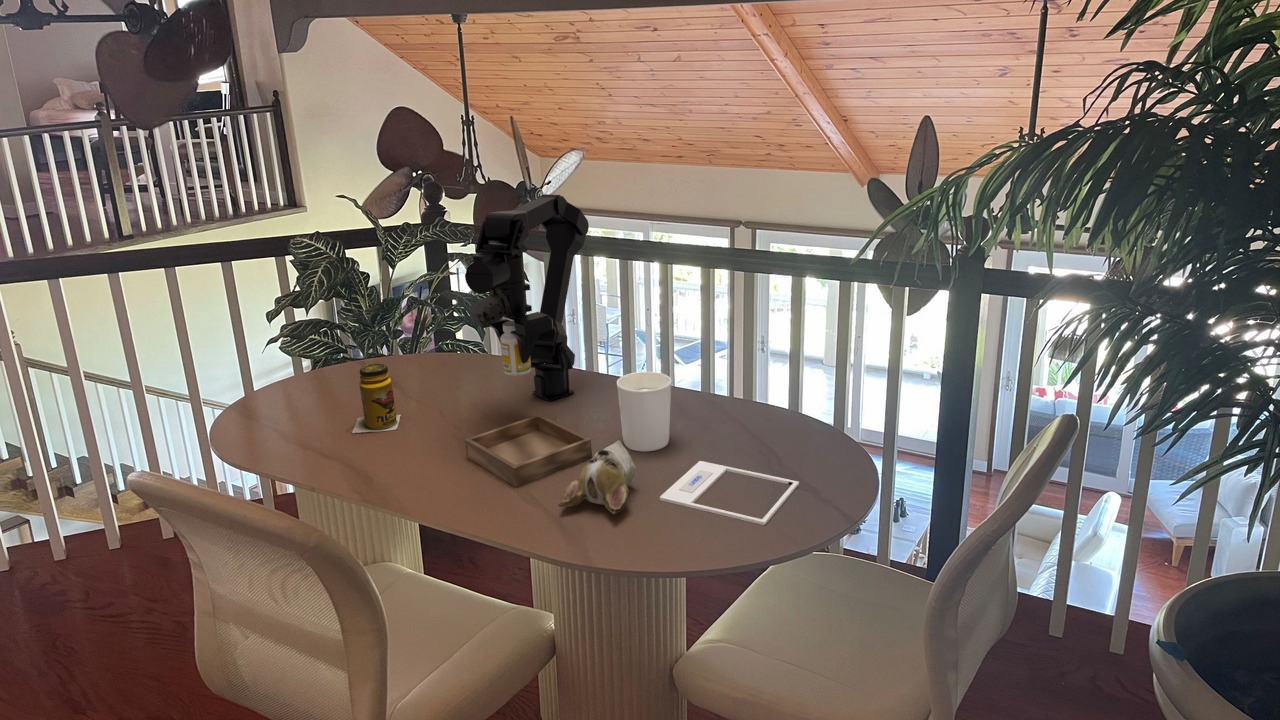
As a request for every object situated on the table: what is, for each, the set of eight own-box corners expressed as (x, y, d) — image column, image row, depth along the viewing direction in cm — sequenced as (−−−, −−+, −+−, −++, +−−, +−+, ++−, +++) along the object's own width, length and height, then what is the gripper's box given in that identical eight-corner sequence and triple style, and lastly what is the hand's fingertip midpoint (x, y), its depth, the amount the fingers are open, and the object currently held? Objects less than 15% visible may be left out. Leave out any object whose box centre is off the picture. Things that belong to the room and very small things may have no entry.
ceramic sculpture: (648, 434, 146) (615, 480, 133) (652, 480, 149) (619, 529, 136) (588, 428, 149) (550, 472, 136) (593, 473, 153) (556, 520, 140)
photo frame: (699, 459, 155) (799, 480, 146) (699, 465, 155) (798, 486, 146) (659, 496, 143) (764, 521, 134) (659, 502, 143) (764, 527, 134)
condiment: (396, 430, 173) (388, 372, 169) (351, 434, 172) (342, 375, 168) (401, 415, 180) (393, 359, 176) (357, 419, 179) (349, 363, 175)
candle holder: (609, 448, 162) (606, 386, 158) (635, 427, 170) (632, 368, 166) (658, 457, 157) (656, 394, 153) (682, 436, 166) (680, 375, 162)
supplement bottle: (534, 366, 175) (530, 319, 172) (528, 376, 170) (523, 327, 167) (507, 366, 176) (502, 319, 172) (500, 376, 171) (495, 327, 167)
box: (540, 431, 170) (539, 414, 169) (592, 457, 158) (591, 439, 157) (466, 457, 160) (464, 439, 159) (516, 487, 149) (514, 468, 148)
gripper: (446, 280, 169) (455, 358, 174) (499, 298, 155) (507, 381, 160) (496, 269, 175) (503, 344, 181) (551, 285, 162) (557, 366, 167)
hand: (516, 358), depth 172 cm, fingers closed on supplement bottle, 5 cm apart
